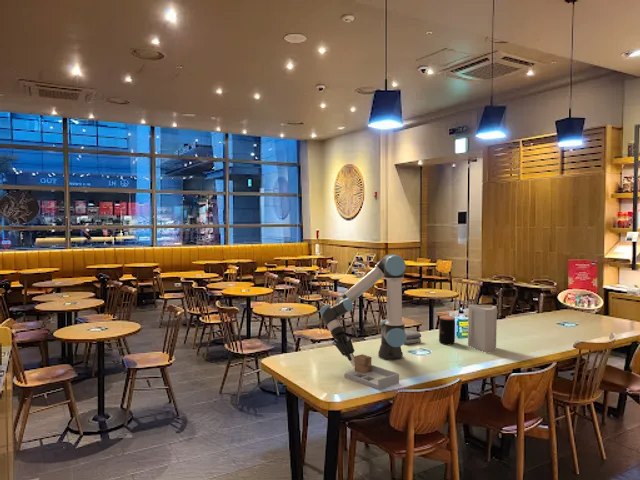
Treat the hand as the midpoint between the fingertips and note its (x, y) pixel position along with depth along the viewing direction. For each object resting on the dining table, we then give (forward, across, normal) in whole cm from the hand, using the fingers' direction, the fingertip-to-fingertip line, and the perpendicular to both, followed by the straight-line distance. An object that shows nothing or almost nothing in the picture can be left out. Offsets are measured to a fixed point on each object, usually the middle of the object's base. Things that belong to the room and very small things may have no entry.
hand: (355, 365), depth 257 cm
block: (+5, -2, +2) cm, 6 cm away
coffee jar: (-2, -95, -10) cm, 96 cm away
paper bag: (+15, -104, +8) cm, 105 cm away
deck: (+13, +1, +7) cm, 14 cm away
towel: (-17, -76, -26) cm, 82 cm away
